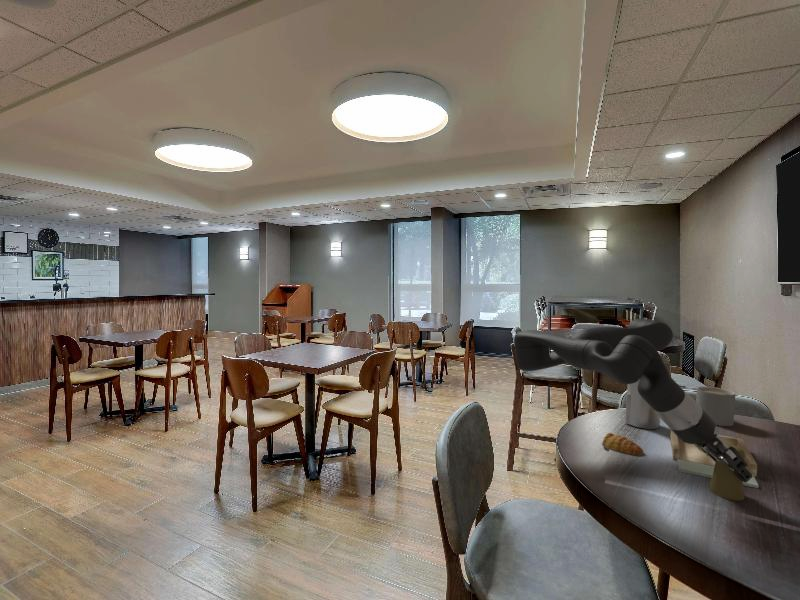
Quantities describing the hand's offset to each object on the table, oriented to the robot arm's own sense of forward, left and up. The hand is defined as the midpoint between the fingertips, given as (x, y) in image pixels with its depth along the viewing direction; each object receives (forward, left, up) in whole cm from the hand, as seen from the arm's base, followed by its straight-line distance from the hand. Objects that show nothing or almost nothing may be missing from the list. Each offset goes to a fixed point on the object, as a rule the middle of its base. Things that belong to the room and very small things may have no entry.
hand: (736, 472), depth 86 cm
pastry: (-22, +13, -6) cm, 26 cm away
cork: (-2, -1, -5) cm, 6 cm away
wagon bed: (-2, +21, -5) cm, 22 cm away
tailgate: (-2, +12, -5) cm, 13 cm away
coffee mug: (+3, +58, -6) cm, 58 cm away
